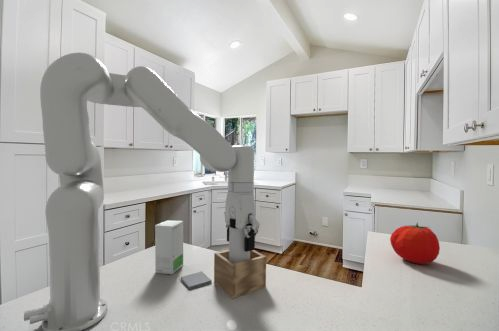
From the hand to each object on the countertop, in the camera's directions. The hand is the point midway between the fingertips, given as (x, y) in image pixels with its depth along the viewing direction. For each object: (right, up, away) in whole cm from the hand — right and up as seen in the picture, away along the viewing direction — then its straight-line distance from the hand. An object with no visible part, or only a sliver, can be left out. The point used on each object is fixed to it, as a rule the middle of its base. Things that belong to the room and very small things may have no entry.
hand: (240, 245), depth 75 cm
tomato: (+64, -12, +19) cm, 67 cm away
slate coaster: (-13, -12, +2) cm, 18 cm away
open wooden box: (0, -12, 0) cm, 12 cm away
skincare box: (-24, -11, +11) cm, 29 cm away
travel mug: (0, -11, 0) cm, 11 cm away
